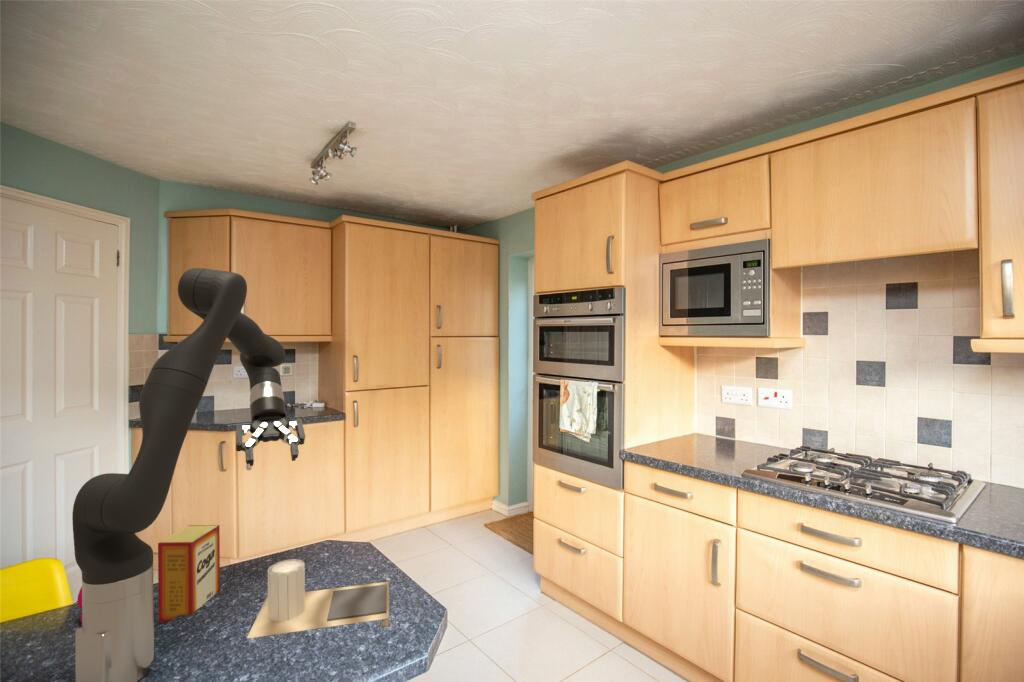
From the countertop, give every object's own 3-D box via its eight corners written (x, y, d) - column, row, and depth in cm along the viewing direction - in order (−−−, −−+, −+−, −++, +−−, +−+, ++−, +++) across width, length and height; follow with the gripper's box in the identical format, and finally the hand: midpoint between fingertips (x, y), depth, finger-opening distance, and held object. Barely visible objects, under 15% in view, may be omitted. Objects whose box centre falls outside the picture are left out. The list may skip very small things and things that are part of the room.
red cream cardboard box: (189, 597, 106) (189, 523, 106) (219, 596, 106) (219, 523, 106) (158, 622, 96) (158, 541, 96) (191, 621, 96) (191, 540, 96)
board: (389, 588, 109) (388, 579, 109) (388, 625, 94) (388, 616, 94) (266, 603, 103) (266, 594, 103) (246, 646, 88) (246, 636, 88)
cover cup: (288, 623, 93) (288, 576, 93) (260, 618, 95) (260, 572, 95) (311, 605, 99) (311, 561, 99) (284, 601, 101) (284, 557, 101)
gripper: (234, 396, 113) (237, 456, 103) (300, 393, 120) (309, 447, 110) (233, 416, 117) (236, 475, 107) (297, 412, 125) (305, 466, 115)
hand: (273, 461), depth 109 cm, fingers open, 8 cm apart
